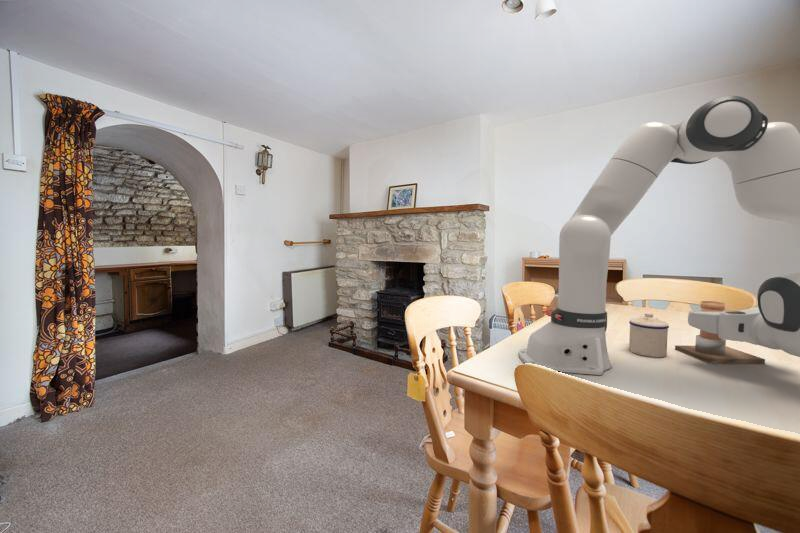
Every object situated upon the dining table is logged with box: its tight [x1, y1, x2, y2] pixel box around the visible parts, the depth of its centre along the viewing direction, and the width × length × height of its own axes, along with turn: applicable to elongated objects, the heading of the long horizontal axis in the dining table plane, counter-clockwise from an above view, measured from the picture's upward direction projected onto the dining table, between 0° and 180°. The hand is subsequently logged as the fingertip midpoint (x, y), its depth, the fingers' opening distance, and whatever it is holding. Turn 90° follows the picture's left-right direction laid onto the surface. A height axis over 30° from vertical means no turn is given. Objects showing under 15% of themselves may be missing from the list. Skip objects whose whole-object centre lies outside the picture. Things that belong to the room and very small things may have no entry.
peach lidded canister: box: [699, 300, 726, 340], centre depth 88 cm, size 5×5×10 cm
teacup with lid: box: [628, 312, 670, 358], centre depth 93 cm, size 12×9×12 cm
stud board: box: [674, 334, 766, 365], centre depth 89 cm, size 14×11×5 cm
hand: (709, 313), depth 89 cm, fingers open, 8 cm apart
